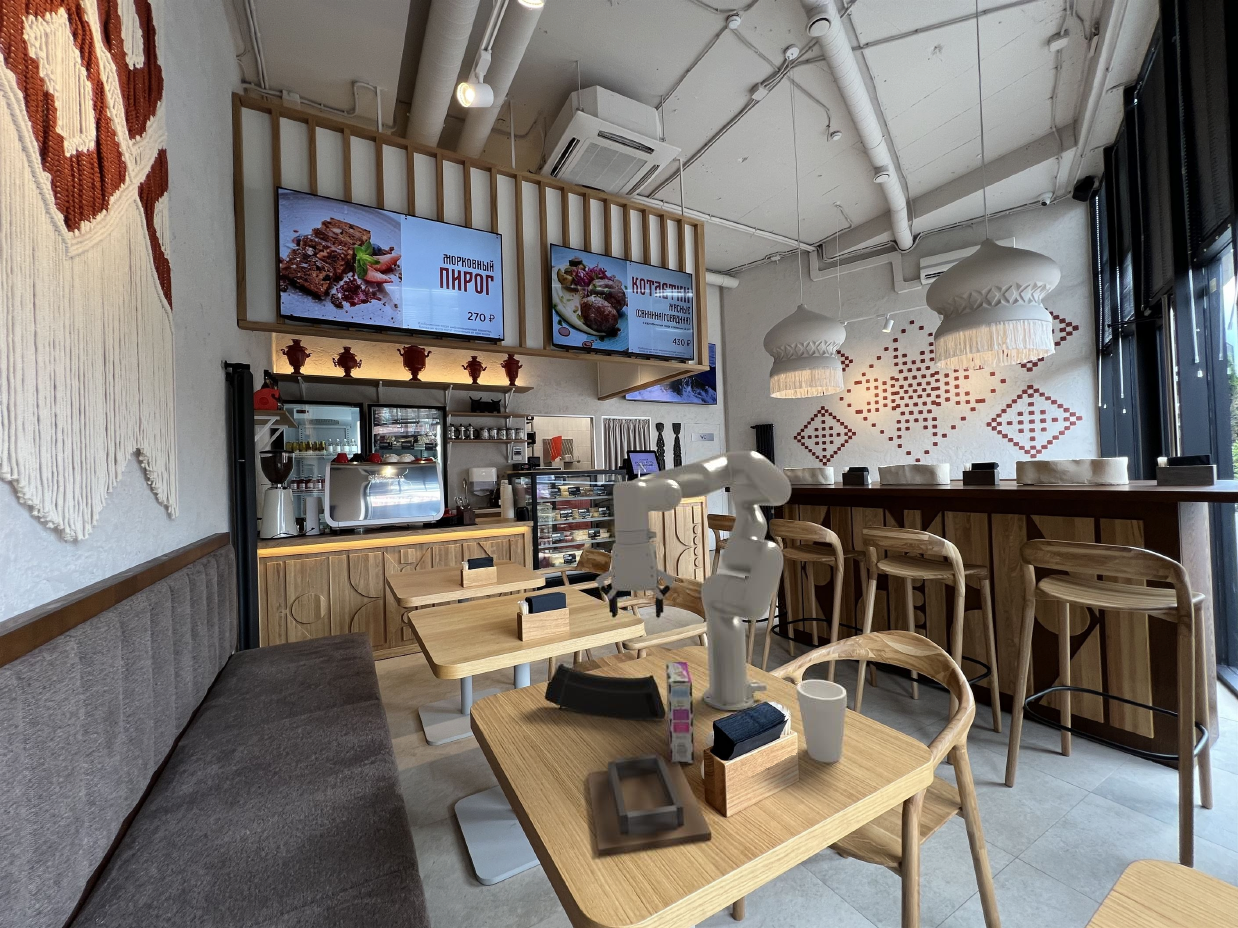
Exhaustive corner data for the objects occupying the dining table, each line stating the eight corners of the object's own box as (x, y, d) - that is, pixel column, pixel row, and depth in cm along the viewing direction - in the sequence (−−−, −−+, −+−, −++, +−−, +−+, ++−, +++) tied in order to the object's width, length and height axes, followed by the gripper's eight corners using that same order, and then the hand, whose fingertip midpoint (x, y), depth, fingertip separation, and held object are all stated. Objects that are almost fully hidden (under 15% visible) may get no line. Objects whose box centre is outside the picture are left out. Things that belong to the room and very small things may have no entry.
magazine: (674, 681, 118) (563, 636, 128) (671, 687, 115) (557, 640, 125) (657, 748, 120) (547, 698, 129) (653, 756, 116) (541, 704, 126)
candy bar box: (696, 764, 100) (692, 681, 100) (670, 764, 100) (667, 682, 100) (690, 734, 111) (687, 660, 111) (667, 735, 111) (664, 661, 112)
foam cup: (792, 743, 106) (789, 681, 106) (833, 739, 107) (831, 677, 107) (813, 769, 97) (810, 701, 97) (859, 764, 98) (855, 697, 98)
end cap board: (678, 766, 99) (677, 745, 99) (711, 838, 80) (710, 813, 80) (587, 778, 97) (586, 757, 97) (598, 855, 77) (597, 829, 77)
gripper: (673, 534, 112) (677, 611, 112) (598, 536, 115) (601, 610, 115) (670, 539, 104) (675, 621, 104) (590, 541, 108) (594, 621, 107)
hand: (636, 615), depth 109 cm, fingers open, 9 cm apart
